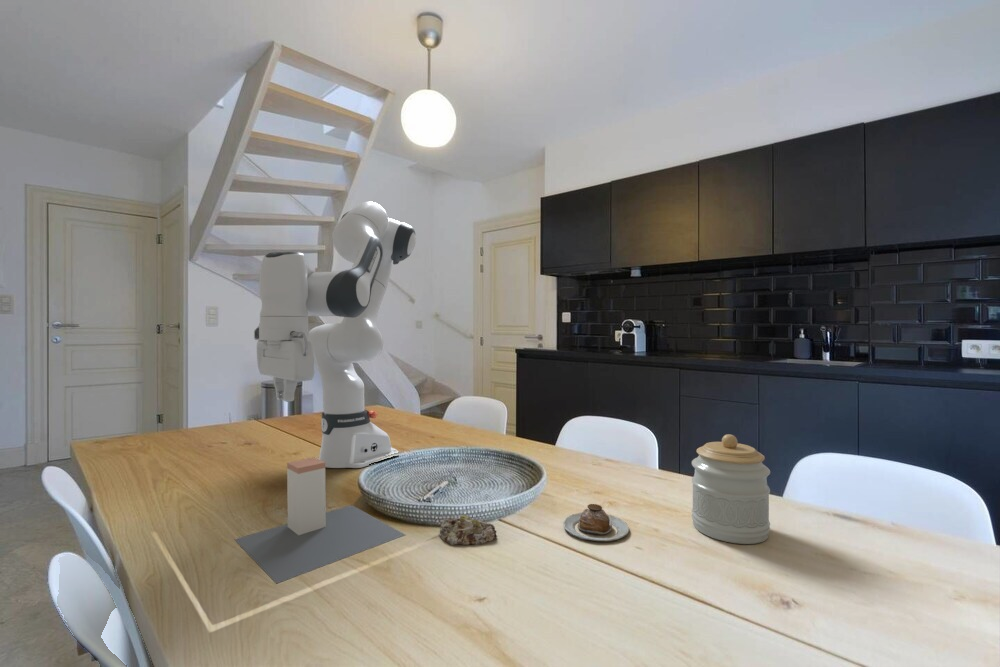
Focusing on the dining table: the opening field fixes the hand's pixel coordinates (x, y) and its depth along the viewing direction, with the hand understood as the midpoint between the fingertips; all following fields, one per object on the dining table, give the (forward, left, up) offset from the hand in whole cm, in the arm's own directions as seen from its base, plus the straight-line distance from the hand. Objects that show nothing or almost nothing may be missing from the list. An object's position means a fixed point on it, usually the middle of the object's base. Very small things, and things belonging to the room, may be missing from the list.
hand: (285, 400), depth 93 cm
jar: (-55, +66, -23) cm, 89 cm away
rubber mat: (0, +16, -23) cm, 28 cm away
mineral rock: (-19, +33, -24) cm, 45 cm away
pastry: (-38, +48, -24) cm, 66 cm away
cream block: (0, +10, -22) cm, 25 cm away
